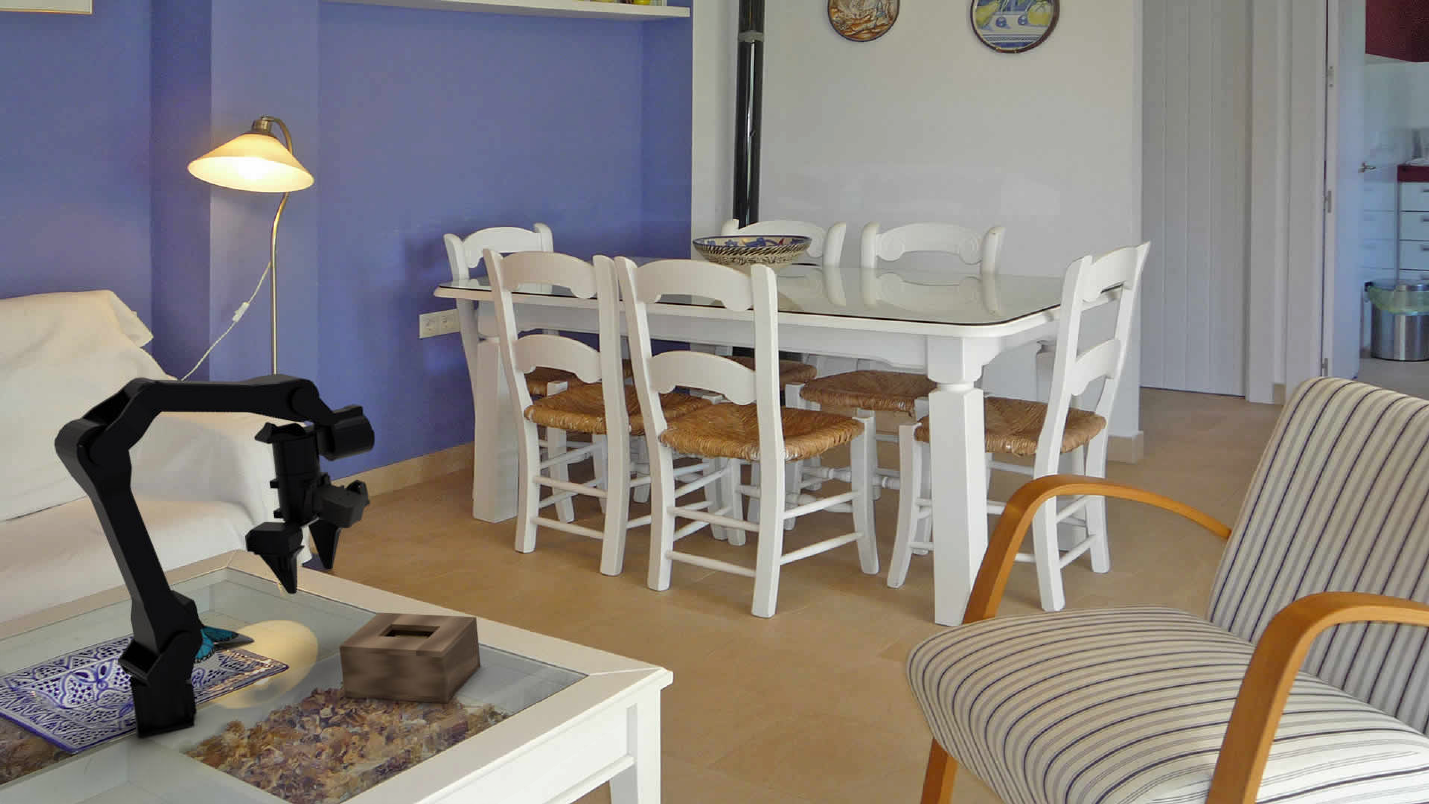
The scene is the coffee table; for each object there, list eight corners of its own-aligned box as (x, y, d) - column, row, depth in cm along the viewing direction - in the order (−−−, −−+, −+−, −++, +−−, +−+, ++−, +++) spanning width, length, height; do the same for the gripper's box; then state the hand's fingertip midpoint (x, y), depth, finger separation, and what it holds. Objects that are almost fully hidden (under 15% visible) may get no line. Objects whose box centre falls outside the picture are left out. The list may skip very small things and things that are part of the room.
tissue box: (345, 696, 161) (339, 646, 159) (384, 660, 171) (379, 612, 170) (446, 703, 158) (441, 651, 156) (480, 665, 168) (476, 617, 167)
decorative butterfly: (181, 615, 181) (241, 600, 179) (197, 656, 182) (256, 641, 180) (139, 644, 171) (202, 628, 169) (156, 687, 172) (219, 672, 170)
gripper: (316, 491, 154) (329, 610, 158) (387, 451, 172) (398, 559, 176) (235, 489, 157) (250, 606, 160) (314, 450, 175) (326, 556, 178)
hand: (311, 580), depth 169 cm, fingers open, 9 cm apart
